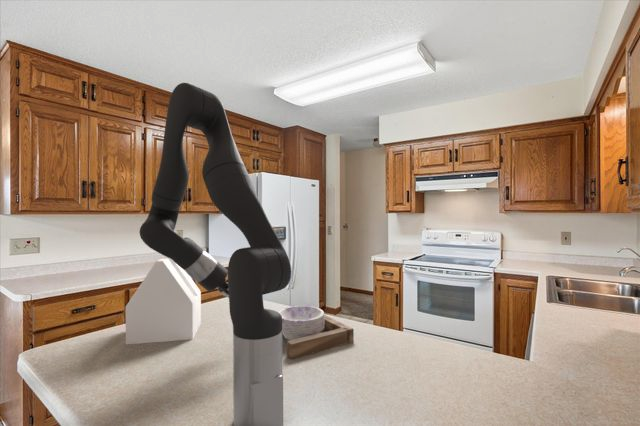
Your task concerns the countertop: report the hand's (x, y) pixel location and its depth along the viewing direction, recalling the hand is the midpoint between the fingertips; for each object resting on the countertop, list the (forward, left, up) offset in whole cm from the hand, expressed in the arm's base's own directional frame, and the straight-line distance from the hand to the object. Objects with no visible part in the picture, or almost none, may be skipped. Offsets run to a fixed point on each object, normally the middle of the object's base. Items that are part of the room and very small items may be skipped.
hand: (247, 305), depth 95 cm
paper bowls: (0, -18, -13) cm, 22 cm away
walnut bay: (0, -19, -13) cm, 22 cm away
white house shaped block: (+28, +18, -13) cm, 35 cm away
